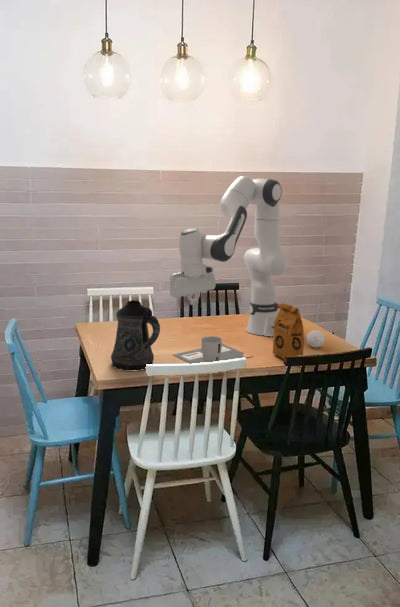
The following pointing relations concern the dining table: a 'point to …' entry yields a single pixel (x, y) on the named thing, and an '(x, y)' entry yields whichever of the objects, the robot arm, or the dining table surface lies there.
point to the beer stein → (134, 337)
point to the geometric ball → (315, 338)
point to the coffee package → (288, 332)
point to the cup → (211, 348)
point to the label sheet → (197, 355)
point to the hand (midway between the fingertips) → (194, 304)
